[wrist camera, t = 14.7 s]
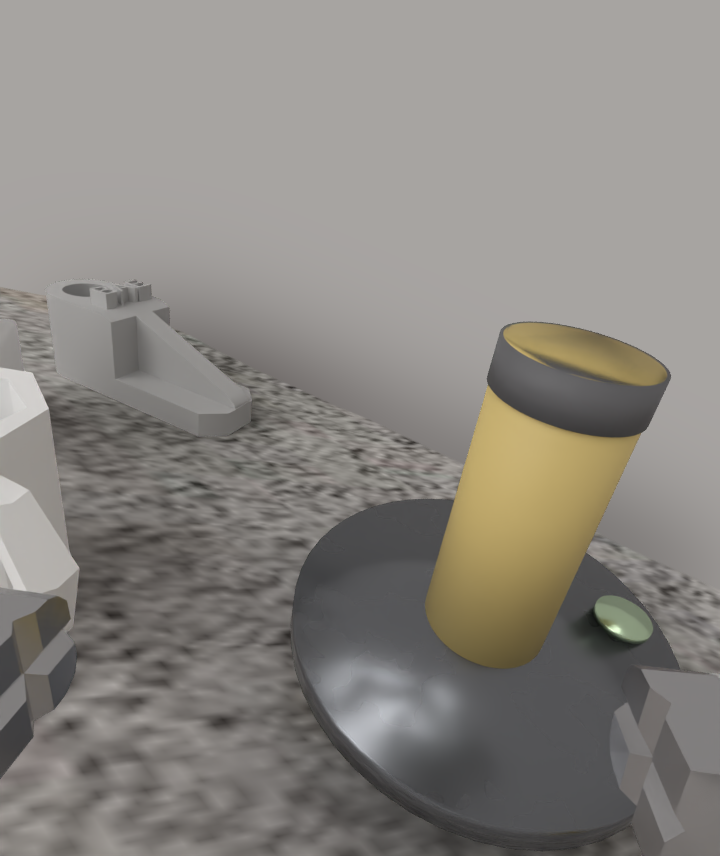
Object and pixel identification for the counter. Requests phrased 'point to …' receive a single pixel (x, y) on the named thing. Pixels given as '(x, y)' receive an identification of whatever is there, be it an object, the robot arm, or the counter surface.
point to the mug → (31, 496)
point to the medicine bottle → (10, 346)
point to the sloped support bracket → (140, 357)
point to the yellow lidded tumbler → (536, 484)
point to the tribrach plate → (467, 688)
